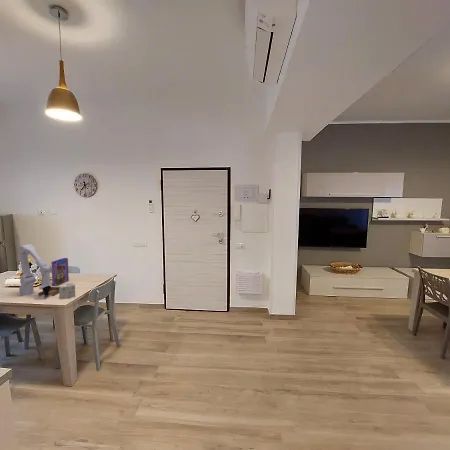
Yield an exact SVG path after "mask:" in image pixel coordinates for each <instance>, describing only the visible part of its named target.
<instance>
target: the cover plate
mask: <svg viewBox="0 0 450 450" xmlns="http://www.w3.org/2000/svg"><path fill="white" fill-rule="evenodd" d="M49 298H52V296H51V295H40V296H39V295H38V296H36V297H34V299H33V300H35V301H37V300H38V301H39V300H43V301H45V300H47V299H49Z"/></svg>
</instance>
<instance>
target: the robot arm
mask: <svg viewBox="0 0 450 450" xmlns="http://www.w3.org/2000/svg"><path fill="white" fill-rule="evenodd" d="M17 251H18V254H19V260H20V261H19V262H20V265H21V271H22V275H20V277H19V283H20V285H19V288H18V289H19V291H18V293H19V294H18V296H19V297H23V296H32V295H34V294H37V292H36V291H34V284H35V282H36V277H35V274H34V273H32V272H31V268H30V261H29V257H28V255H30V256H31V257H32V258H33V259H34V261H35V264H36V265H37V267H38V268H39V272H40V275H41V285H40V286H39V287H38V289H39V290H42V291H43V292H44V294H45V295H48V293H49V290H50V288H51V287H52V284H53V282H52V281H51V274H50V272H52V265H50V264H48V263H47V262H46V261H45V260H44V259H43V258H42V257H40V256H39V254H38V253H37V251H36V247H35V245H34V244H33V243H30V244H29V243H28V244H24V245H22V244H21V245H20V246H18V248H17Z"/></svg>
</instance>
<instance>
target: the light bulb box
mask: <svg viewBox="0 0 450 450" xmlns="http://www.w3.org/2000/svg"><path fill="white" fill-rule="evenodd" d="M58 287H59V294H58V295H59V296H58V297H59V298H60V299H61V300H65V299H66V300H67V299H71V298H74V297H76V284H75V283H72V282H71V283H66V284H61V285H59V286H58Z"/></svg>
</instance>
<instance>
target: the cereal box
mask: <svg viewBox="0 0 450 450" xmlns="http://www.w3.org/2000/svg"><path fill="white" fill-rule="evenodd" d="M69 280H70V279H69V258H68V257H61V258H60V259H56V260H53V261H51V282H53V284H51V287H59V286H61V285H64V284H65V283H67V282H69Z"/></svg>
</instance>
